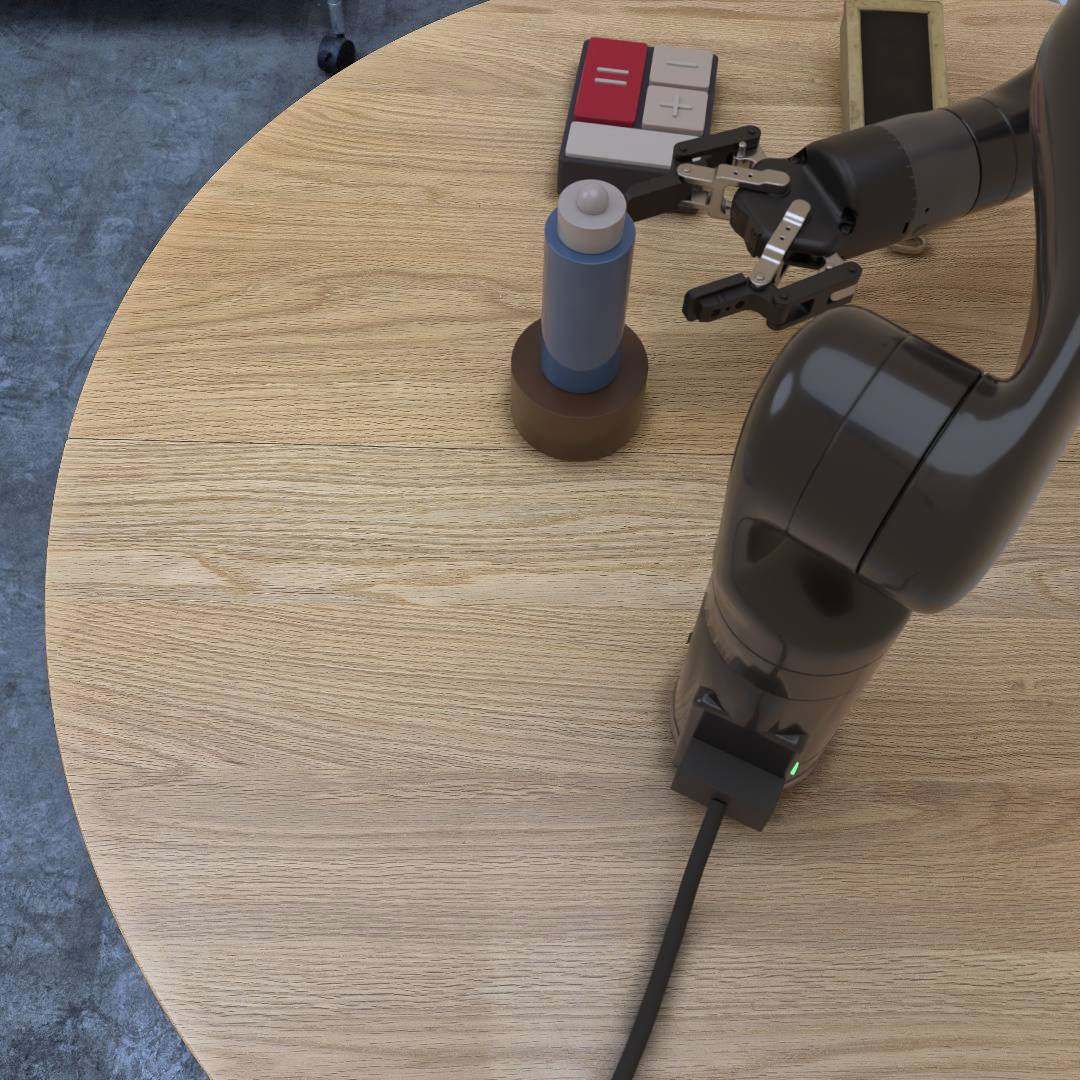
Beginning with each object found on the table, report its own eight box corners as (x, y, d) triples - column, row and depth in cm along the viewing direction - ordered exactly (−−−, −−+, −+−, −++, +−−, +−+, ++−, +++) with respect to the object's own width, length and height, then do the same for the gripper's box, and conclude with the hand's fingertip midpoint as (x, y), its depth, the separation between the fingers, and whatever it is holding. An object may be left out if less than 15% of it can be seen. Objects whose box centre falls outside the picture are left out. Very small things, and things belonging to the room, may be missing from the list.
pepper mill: (599, 405, 77) (617, 235, 64) (526, 375, 78) (529, 202, 65) (632, 348, 79) (656, 172, 66) (561, 320, 80) (571, 141, 67)
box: (924, 41, 100) (942, -5, 96) (946, 273, 93) (967, 236, 88) (824, 38, 100) (838, -8, 96) (838, 271, 93) (854, 233, 88)
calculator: (720, 45, 96) (706, 169, 88) (712, 91, 100) (698, 214, 92) (584, 29, 97) (557, 151, 89) (581, 75, 100) (555, 196, 92)
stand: (608, 481, 80) (613, 438, 75) (488, 430, 82) (486, 385, 77) (662, 384, 84) (670, 338, 80) (546, 338, 86) (548, 290, 81)
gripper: (841, 64, 76) (608, 131, 72) (966, 217, 69) (717, 299, 66) (815, 156, 82) (600, 221, 79) (927, 304, 76) (699, 382, 72)
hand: (654, 257), depth 72 cm, fingers open, 8 cm apart
